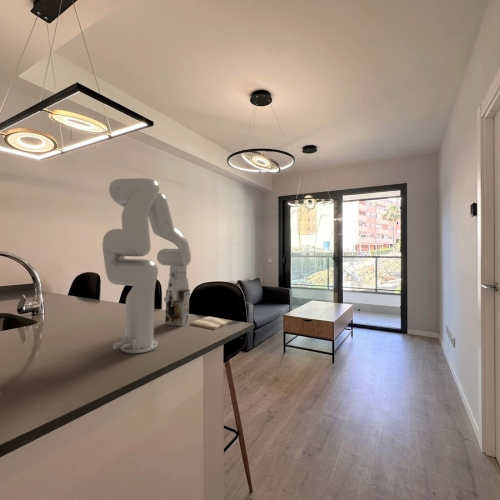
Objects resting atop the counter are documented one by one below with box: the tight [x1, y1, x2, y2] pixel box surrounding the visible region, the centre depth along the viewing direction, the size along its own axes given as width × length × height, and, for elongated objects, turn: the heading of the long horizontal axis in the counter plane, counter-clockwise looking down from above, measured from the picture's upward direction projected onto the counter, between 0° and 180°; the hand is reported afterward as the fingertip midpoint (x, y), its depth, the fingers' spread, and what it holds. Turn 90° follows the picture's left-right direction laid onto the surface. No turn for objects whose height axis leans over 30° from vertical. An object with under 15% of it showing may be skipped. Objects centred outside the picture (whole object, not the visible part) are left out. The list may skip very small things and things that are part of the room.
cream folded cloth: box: [189, 316, 233, 330], centre depth 136 cm, size 14×14×1 cm
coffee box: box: [164, 288, 191, 327], centre depth 135 cm, size 9×6×16 cm
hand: (177, 312), depth 135 cm, fingers closed on coffee box, 7 cm apart
